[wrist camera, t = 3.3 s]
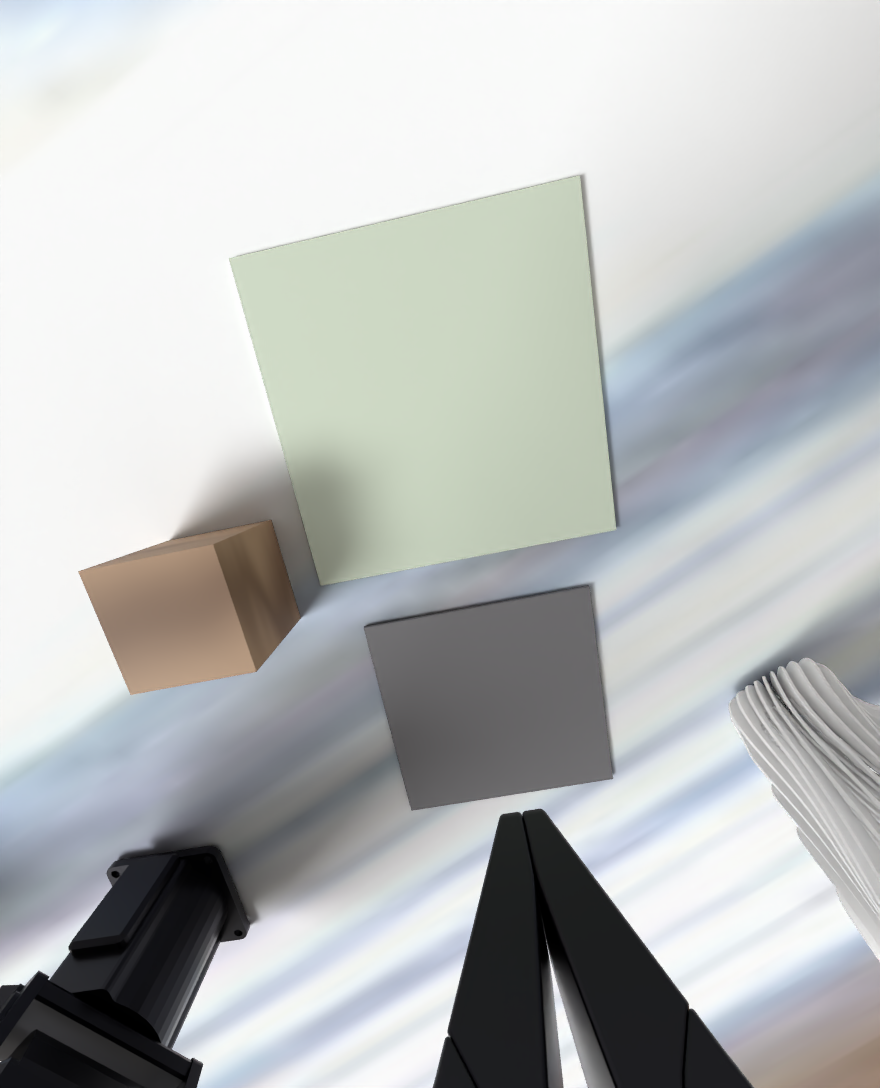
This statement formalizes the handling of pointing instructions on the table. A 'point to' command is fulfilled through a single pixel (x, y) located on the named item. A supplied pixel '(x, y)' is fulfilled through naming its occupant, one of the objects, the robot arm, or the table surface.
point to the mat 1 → (436, 382)
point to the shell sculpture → (822, 776)
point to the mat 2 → (494, 698)
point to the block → (194, 606)
